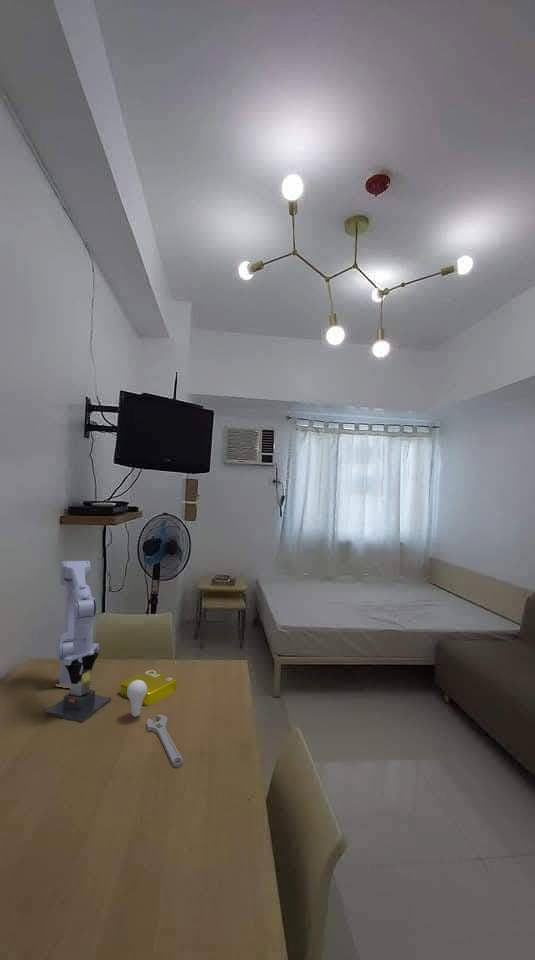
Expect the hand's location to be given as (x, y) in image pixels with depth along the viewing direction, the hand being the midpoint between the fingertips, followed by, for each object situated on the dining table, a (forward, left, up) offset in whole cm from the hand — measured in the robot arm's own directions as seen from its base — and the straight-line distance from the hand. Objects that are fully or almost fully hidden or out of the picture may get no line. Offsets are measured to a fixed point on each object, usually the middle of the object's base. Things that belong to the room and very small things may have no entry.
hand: (80, 679), depth 134 cm
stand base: (0, 0, -9) cm, 9 cm away
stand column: (0, 0, -5) cm, 5 cm away
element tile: (-17, +15, -10) cm, 25 cm away
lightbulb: (-1, +20, -9) cm, 22 cm away
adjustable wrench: (+8, +34, -10) cm, 37 cm away
